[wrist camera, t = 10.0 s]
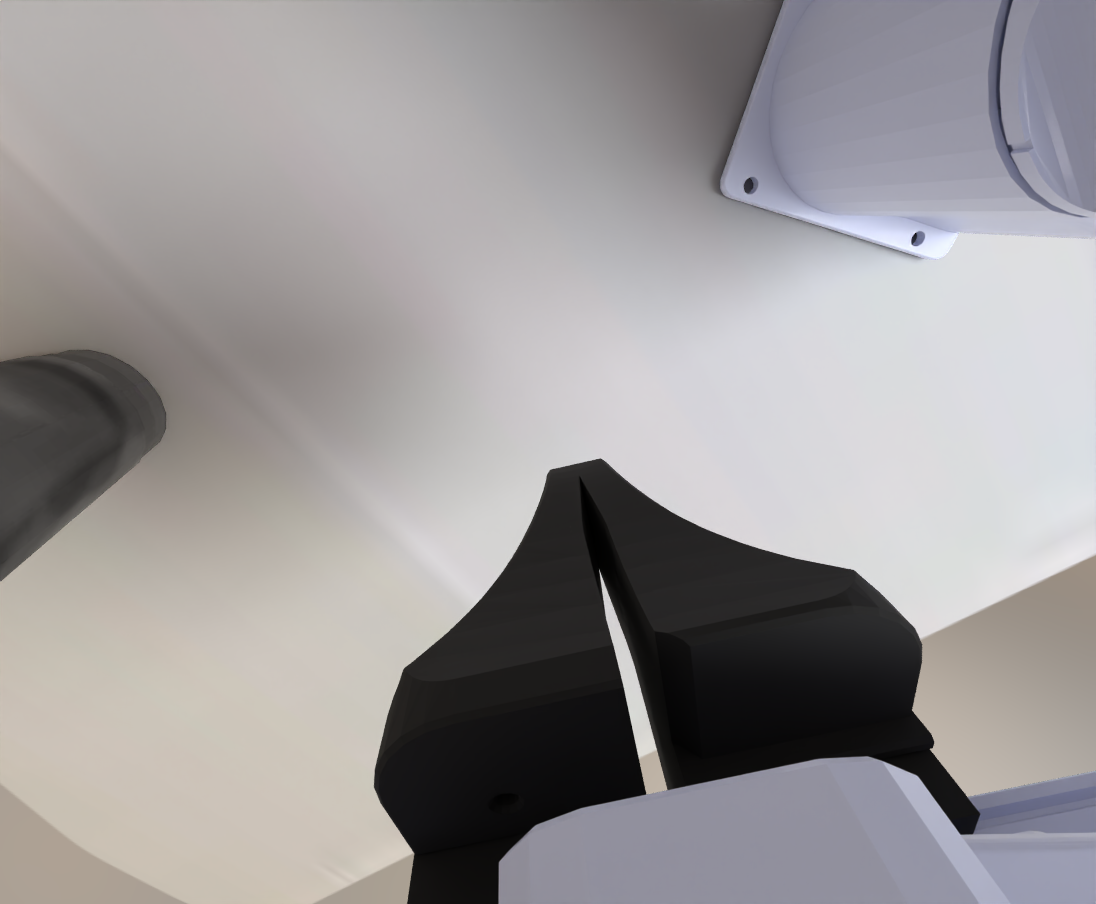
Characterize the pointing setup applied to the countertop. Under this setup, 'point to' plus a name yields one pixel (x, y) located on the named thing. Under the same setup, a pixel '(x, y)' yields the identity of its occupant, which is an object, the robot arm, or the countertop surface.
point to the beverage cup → (66, 441)
